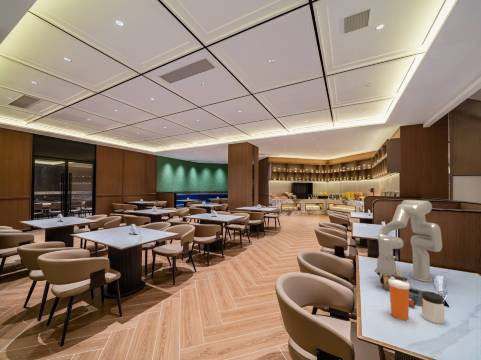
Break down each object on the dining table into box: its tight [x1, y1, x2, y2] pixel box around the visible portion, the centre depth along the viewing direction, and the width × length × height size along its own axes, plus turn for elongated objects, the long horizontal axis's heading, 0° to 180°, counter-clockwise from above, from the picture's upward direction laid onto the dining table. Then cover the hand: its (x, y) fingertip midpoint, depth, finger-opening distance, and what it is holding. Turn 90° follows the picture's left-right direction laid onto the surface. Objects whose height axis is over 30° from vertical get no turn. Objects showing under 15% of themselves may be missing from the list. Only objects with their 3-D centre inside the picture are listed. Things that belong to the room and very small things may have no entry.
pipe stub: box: [382, 274, 390, 291], centre depth 137 cm, size 5×5×10 cm
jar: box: [421, 290, 445, 325], centre depth 106 cm, size 9×8×12 cm
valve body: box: [409, 286, 424, 309], centre depth 122 cm, size 17×11×6 cm, turn 133°
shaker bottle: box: [388, 274, 411, 321], centre depth 108 cm, size 9×9×20 cm
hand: (386, 284), depth 137 cm, fingers closed on pipe stub, 4 cm apart
